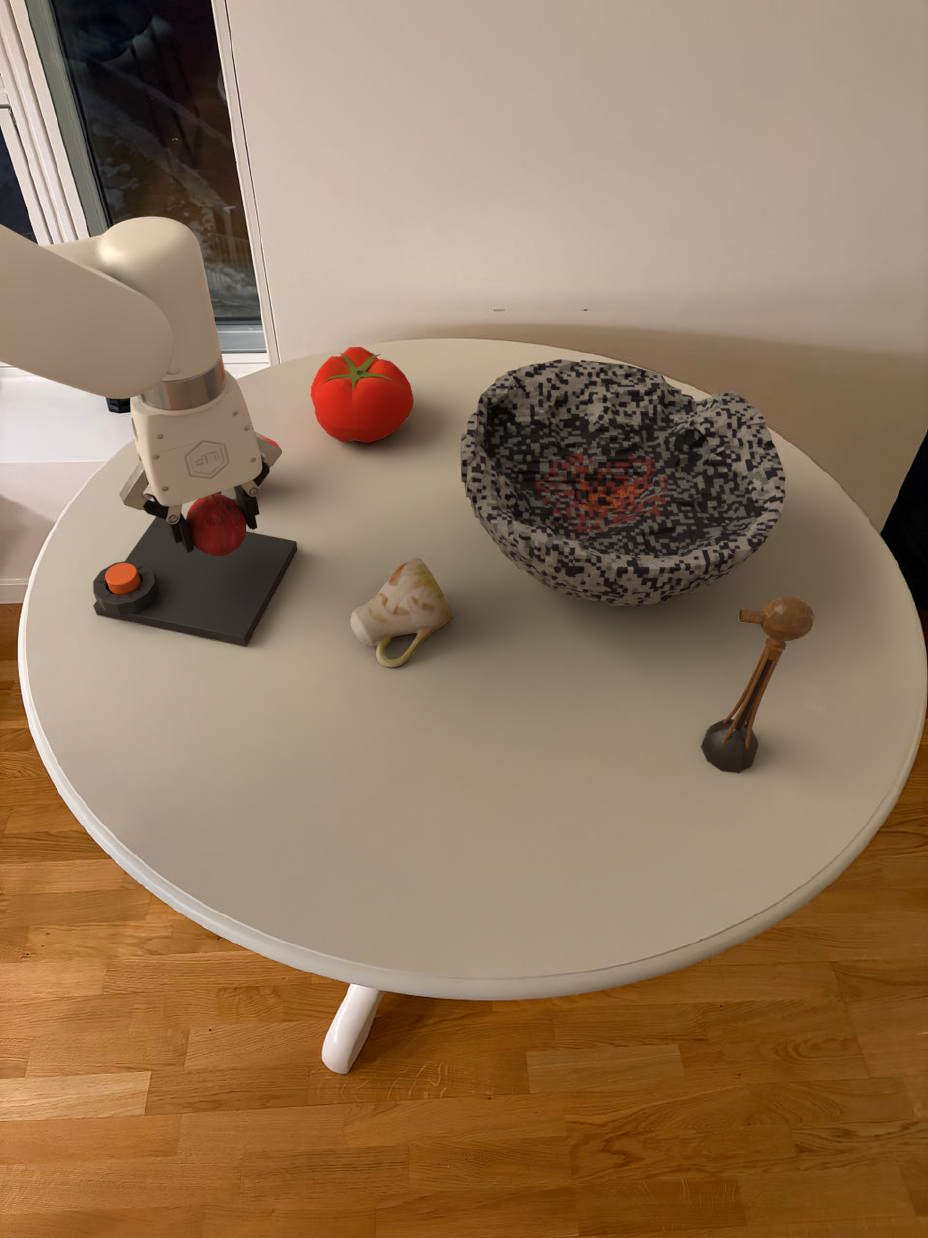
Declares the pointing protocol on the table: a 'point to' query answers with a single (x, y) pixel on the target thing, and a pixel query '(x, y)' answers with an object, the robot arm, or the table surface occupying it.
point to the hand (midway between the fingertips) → (217, 530)
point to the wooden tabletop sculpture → (756, 683)
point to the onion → (216, 525)
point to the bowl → (619, 480)
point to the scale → (199, 585)
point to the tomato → (360, 396)
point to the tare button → (122, 578)
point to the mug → (402, 611)
